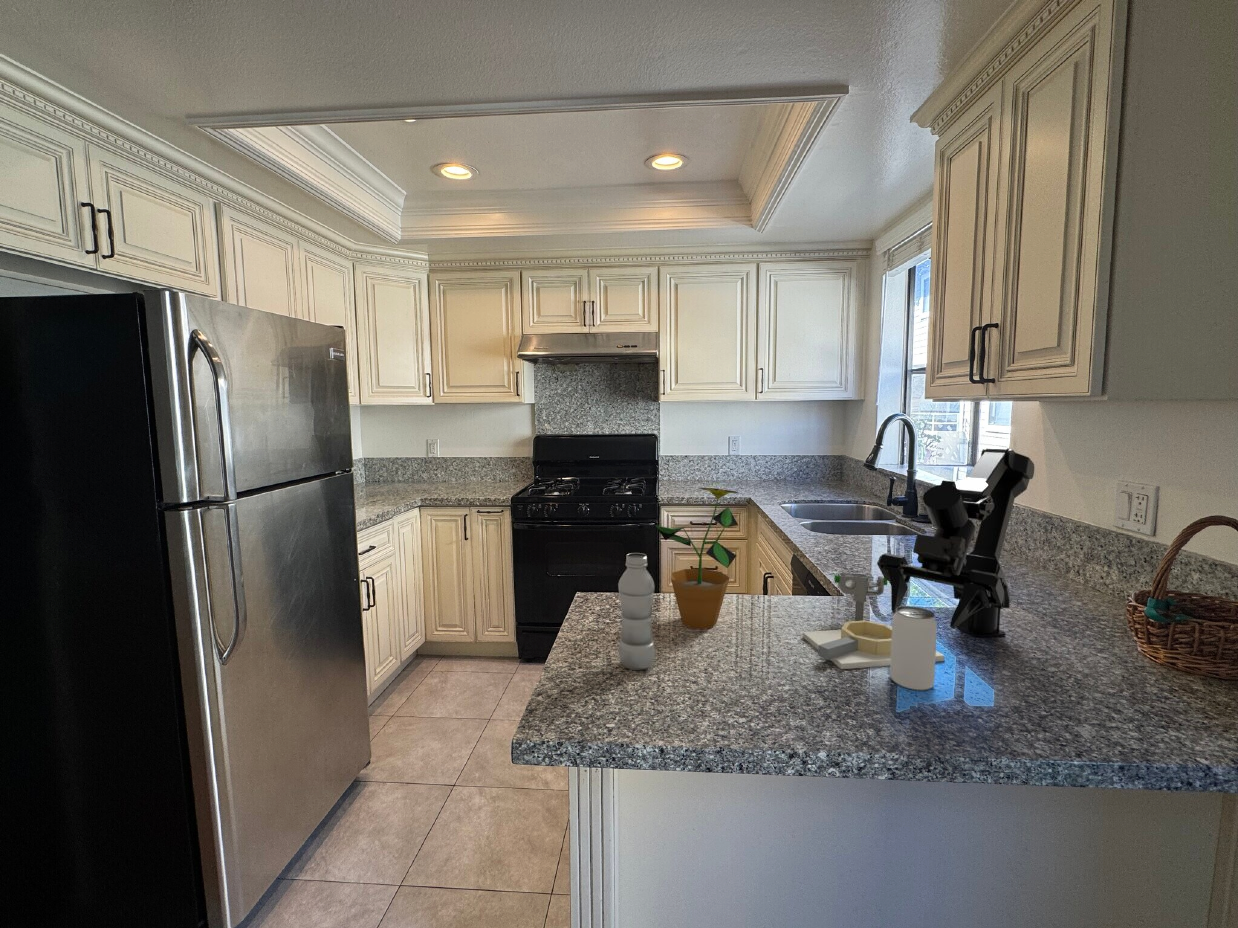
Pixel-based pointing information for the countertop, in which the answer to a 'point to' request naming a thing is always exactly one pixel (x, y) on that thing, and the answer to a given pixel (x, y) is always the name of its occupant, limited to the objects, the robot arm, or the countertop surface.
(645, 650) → the plastic bottle
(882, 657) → the octagonal ring fixture plate
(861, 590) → the mechanical component
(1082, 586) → the countertop surface
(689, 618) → the potted plant
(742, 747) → the countertop surface
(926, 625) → the can
